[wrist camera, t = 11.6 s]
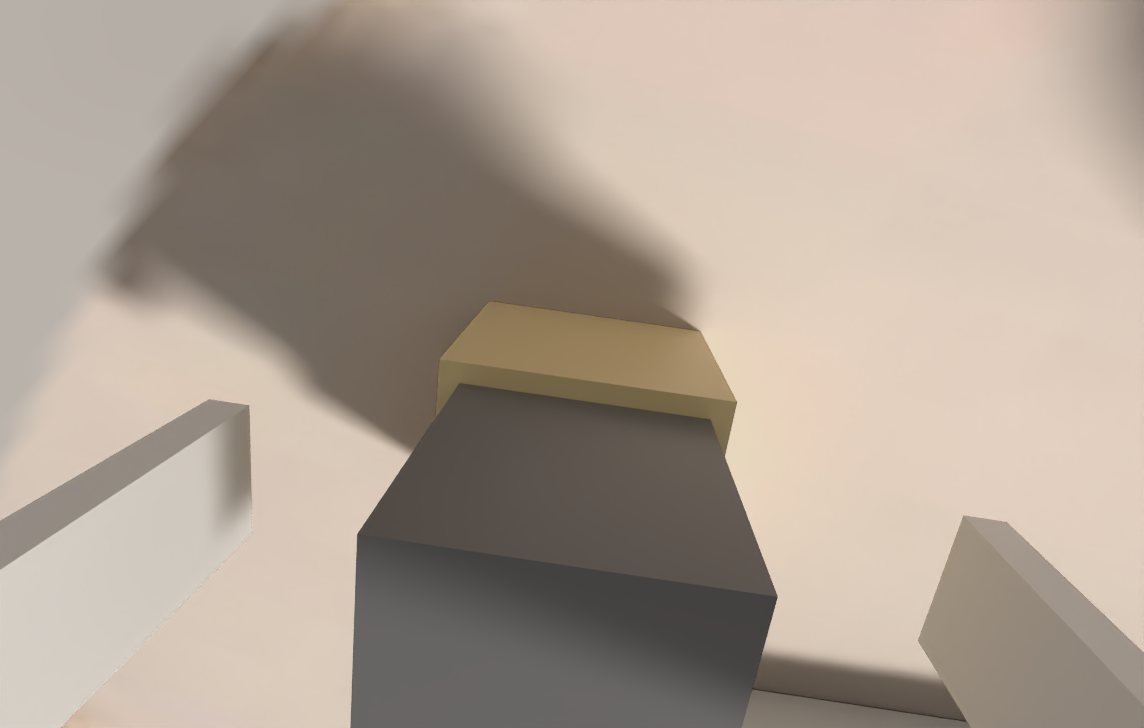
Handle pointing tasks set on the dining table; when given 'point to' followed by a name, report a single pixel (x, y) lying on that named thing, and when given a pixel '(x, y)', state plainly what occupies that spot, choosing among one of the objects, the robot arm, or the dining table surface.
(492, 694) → the plug
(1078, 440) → the dining table surface
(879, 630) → the dining table surface
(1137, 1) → the dining table surface
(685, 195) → the dining table surface
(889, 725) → the socket
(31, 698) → the robot arm
